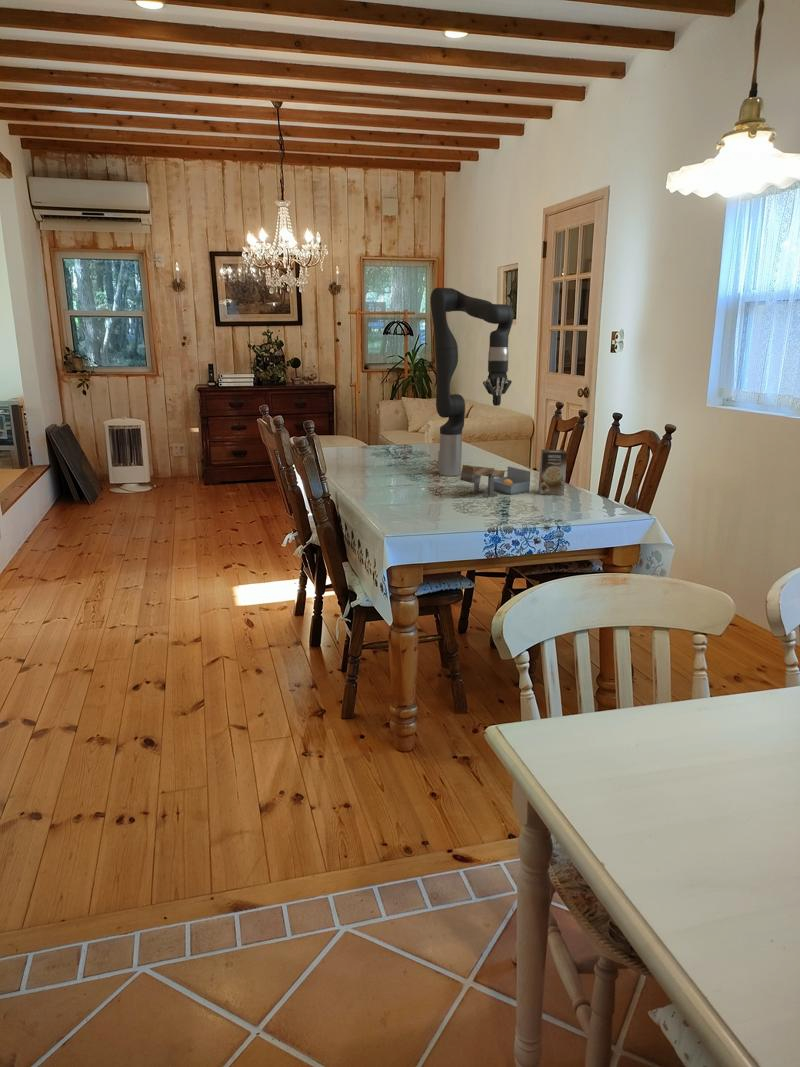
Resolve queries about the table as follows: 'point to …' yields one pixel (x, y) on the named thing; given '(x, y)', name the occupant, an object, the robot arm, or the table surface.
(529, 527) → the table surface
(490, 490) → the lever stand
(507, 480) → the ball
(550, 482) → the coffee box
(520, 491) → the bin
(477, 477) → the lever chute
